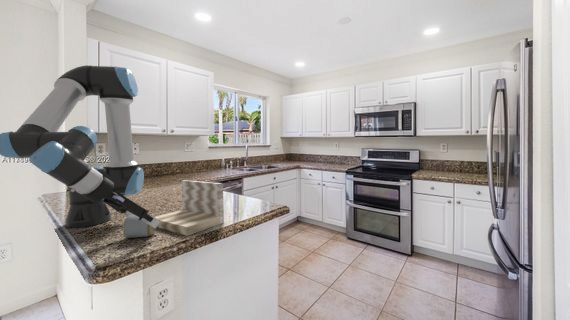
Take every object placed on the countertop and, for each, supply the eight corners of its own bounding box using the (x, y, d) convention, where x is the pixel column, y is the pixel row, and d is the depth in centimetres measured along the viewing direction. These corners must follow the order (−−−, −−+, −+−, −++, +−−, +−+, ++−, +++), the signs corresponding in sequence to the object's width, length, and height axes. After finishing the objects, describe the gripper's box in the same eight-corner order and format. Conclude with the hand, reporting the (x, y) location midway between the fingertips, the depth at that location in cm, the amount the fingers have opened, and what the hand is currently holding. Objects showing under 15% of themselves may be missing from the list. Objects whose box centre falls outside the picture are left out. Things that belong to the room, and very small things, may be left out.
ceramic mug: (150, 239, 81) (149, 216, 81) (123, 241, 80) (122, 218, 80) (160, 229, 92) (159, 209, 91) (136, 231, 90) (135, 210, 90)
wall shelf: (149, 225, 97) (147, 185, 96) (187, 214, 111) (185, 180, 110) (187, 235, 84) (185, 189, 83) (224, 222, 98) (222, 183, 97)
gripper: (68, 192, 77) (125, 227, 91) (99, 199, 64) (159, 238, 78) (88, 174, 81) (139, 209, 95) (120, 177, 69) (174, 217, 83)
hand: (149, 222), depth 87 cm, fingers closed on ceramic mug, 10 cm apart
